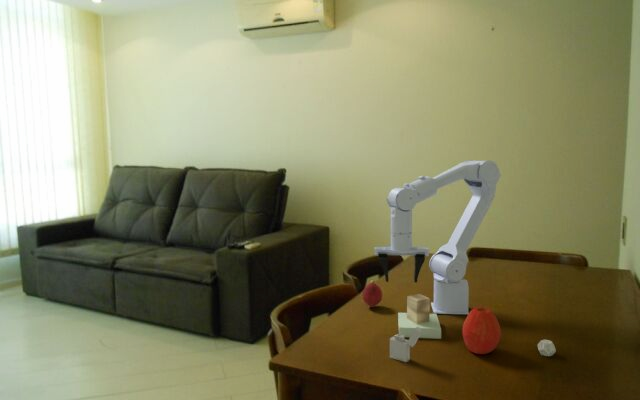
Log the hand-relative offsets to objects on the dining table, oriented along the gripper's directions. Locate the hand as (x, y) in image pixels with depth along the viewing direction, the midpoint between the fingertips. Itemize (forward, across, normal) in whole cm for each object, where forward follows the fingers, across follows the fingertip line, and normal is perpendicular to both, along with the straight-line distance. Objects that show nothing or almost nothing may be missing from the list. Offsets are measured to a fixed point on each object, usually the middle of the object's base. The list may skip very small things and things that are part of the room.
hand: (401, 281), depth 121 cm
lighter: (+10, 0, +26) cm, 28 cm away
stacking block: (+10, -4, +9) cm, 14 cm away
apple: (+10, -17, +20) cm, 28 cm away
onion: (+10, +8, -6) cm, 14 cm away
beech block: (+8, -4, +9) cm, 12 cm away
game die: (+10, -31, +20) cm, 38 cm away
